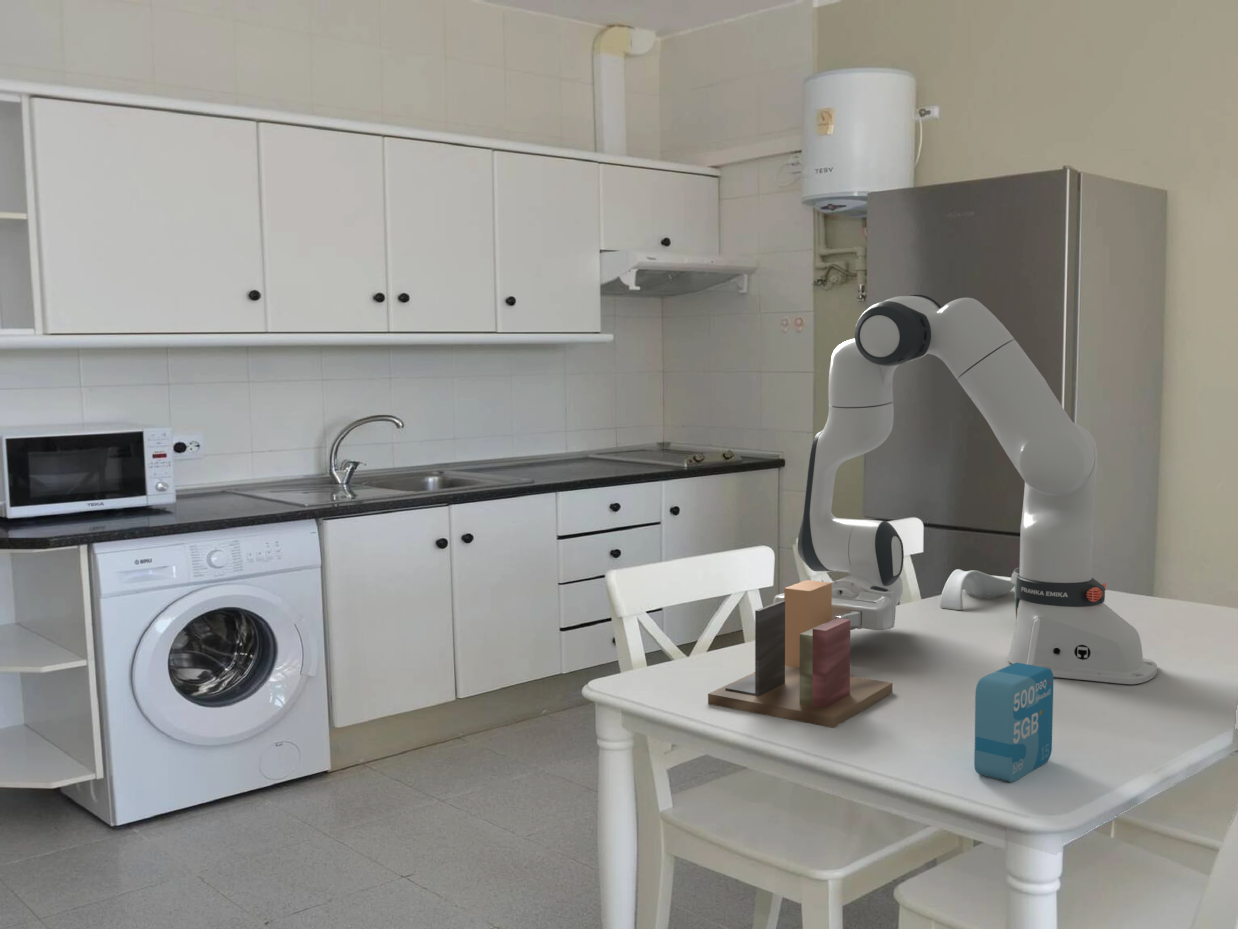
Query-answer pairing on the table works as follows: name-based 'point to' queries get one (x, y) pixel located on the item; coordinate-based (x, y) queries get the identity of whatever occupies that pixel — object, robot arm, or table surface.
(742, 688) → the wooden bookend stand
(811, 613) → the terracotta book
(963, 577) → the spoon rest
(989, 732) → the data package
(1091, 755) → the table surface
